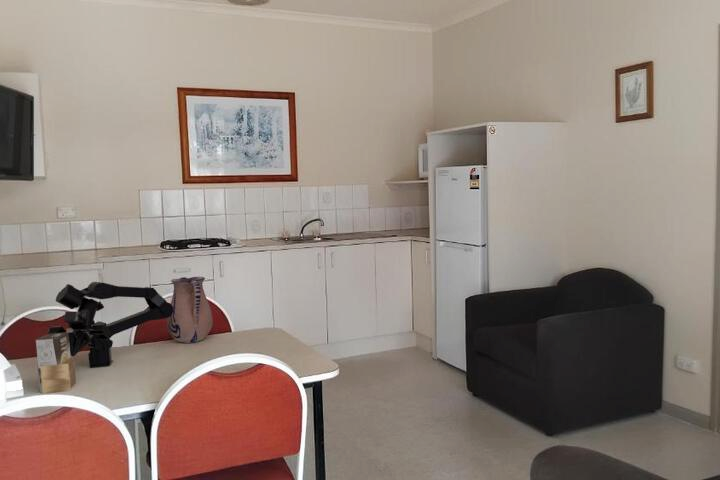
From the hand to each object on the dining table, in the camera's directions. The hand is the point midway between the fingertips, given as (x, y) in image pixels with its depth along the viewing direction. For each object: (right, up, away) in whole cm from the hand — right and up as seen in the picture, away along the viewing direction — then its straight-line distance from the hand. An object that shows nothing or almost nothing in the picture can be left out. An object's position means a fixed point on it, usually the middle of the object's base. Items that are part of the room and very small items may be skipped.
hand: (72, 355), depth 199 cm
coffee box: (0, -8, -9) cm, 12 cm away
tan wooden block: (+1, -8, -10) cm, 13 cm away
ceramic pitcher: (+27, -3, +46) cm, 53 cm away
